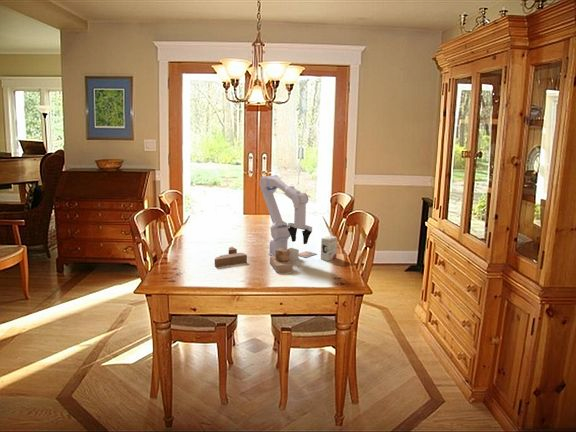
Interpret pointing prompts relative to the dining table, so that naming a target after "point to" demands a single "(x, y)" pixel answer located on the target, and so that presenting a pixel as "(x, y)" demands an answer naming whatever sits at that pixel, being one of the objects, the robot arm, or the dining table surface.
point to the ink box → (329, 248)
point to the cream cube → (294, 254)
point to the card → (306, 254)
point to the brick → (280, 265)
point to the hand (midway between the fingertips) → (299, 242)
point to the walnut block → (282, 254)
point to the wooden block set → (231, 258)
